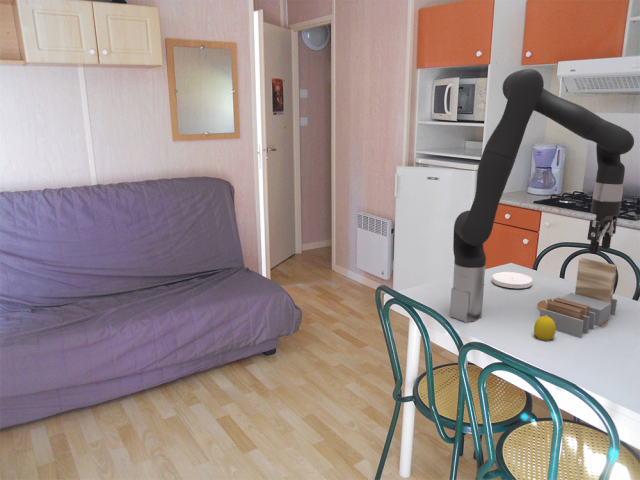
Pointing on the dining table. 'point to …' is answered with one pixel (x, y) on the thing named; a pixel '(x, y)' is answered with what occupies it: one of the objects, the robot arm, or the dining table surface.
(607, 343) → the dining table surface
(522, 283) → the plastic lid
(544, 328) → the lemon
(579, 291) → the wooden block
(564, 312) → the offcut front
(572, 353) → the dining table surface
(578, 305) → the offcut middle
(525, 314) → the dining table surface
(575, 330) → the rack
